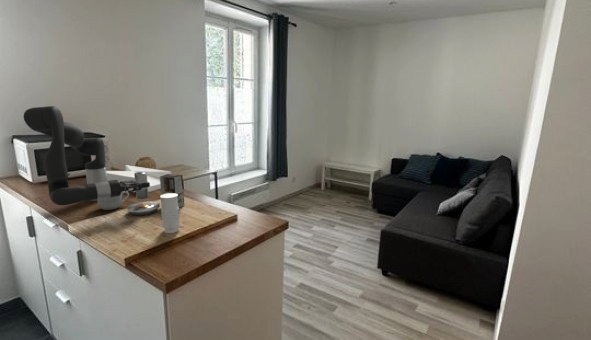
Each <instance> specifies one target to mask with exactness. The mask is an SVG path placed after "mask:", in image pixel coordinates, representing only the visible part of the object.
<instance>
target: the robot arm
mask: <svg viewBox="0 0 591 340" xmlns="http://www.w3.org/2000/svg"><path fill="white" fill-rule="evenodd" d="M23 121H24V123H25V124H26V125H27V126H28V127H29V128H30V129H31V130H32V131H34V132H37V133H40V134H43V135H47V136H49V137H50V138H51V142H50V145H49V147H48V150H47V151H46V154H45V156H44V160H43V164H44V165H43V166H44V172H45V177H46V179H47V185H48V186H47V187H48V195H49V200H50V201H51V202H52V203H53V204H55V205H56V206H69V205H72V204H76V203H80V202H86V201H88V202H89V201H90V202H98V201H97V199H104V198H110V197H116V196H120V195H121V193H122V192H123V191H125V192H128V193H134V192H133V191H138V190H142V188H146V187H150V183H149V182H146V183H137V184H136V183H135V181H134V180H131V181H120V182H119V181H118V180H110V181H107V174H106V171H107V167H106V149H105V147H106V146H105V142H104V140H103V139H102V138H101V137H85V134H84V132H83V130H82V129H81V128H79V127H78V126H76V125H74V124H72V123H69V122H66V121H64V116H63V113H62V111H61V110H60V109H59V108H58V107H57V106H55V105H51V106H38V107H30V108H27V109H26V110H25V111H24V113H23ZM65 145H67V146H68V147H71V148H72V149H74V150H76V152H78V153H79V154H81V155H83V156H95V157H94V159H93V160H92V161H87V162H86V163H85V164H84V168H85V169H84V170H85V176H86V183H87V184H81V185H78V186H69V182H68V181H69V180H68V179H69V172H68V165H67V162H66V154H65ZM137 186H138V188H137Z"/></svg>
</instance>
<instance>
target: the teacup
mask: <svg viewBox="0 0 591 340" xmlns="http://www.w3.org/2000/svg"><path fill="white" fill-rule="evenodd" d="M124 194H126V196H125V197H124V198H123V195H124ZM129 196H130V192H125V191H122V192H121V195H120V196H116V197H110V198H104V199H97V201H96V202H97V204H98V207H99V208H100V209H102V210H104V211H110V210H111V211H112V210H115V209H118V208H119V207H120V206H121V205H122V204H123V203H124V202H125V201H126V200H127V199H128V198H129Z"/></svg>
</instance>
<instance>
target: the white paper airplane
mask: <svg viewBox="0 0 591 340" xmlns="http://www.w3.org/2000/svg"><path fill="white" fill-rule="evenodd" d="M137 172H147V182H149V183H150V187H148V193H150V192H154V191H158V190H161V185H160V176H163V175H166V174H173V173H172V172H173V171H167V170H164V169H163V170H161V169H156V168H147V167H141V166H134V165H128V164H125V170H106V174H107V181H110V180H118V181H119V182H120V181H131V180H134V181H135V176H134V173H137ZM135 192H136V191H133V192H132V193H135Z"/></svg>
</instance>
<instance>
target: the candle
mask: <svg viewBox="0 0 591 340" xmlns="http://www.w3.org/2000/svg"><path fill="white" fill-rule="evenodd" d="M177 196H178V194H176V193H168V194H163V195H161V194H160V196H159V198H160V204H161V206H160V207H161V208H160V214H161V215H160V216H161V220H162V222H161V223H162V228H163V232H164V233H165V234H173V233H174V234H175V233H177V232H179V231H180V225H181V224H180V223H181V221H180V217H181V213H180V208H179V207H178V199H177Z"/></svg>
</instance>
